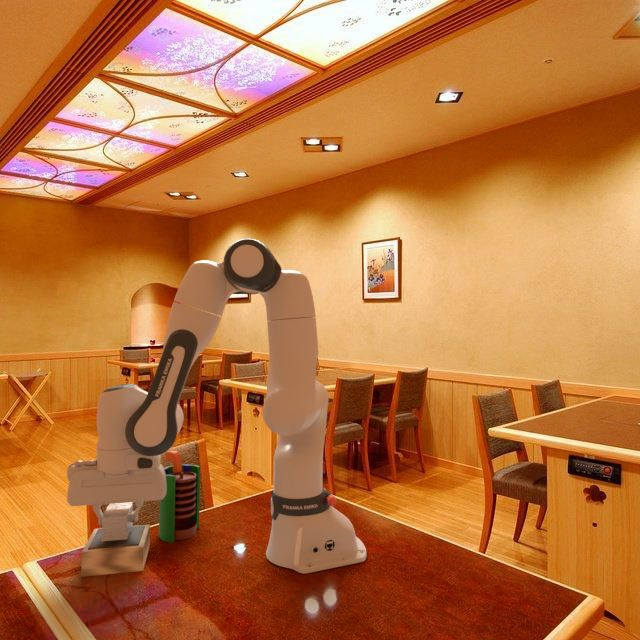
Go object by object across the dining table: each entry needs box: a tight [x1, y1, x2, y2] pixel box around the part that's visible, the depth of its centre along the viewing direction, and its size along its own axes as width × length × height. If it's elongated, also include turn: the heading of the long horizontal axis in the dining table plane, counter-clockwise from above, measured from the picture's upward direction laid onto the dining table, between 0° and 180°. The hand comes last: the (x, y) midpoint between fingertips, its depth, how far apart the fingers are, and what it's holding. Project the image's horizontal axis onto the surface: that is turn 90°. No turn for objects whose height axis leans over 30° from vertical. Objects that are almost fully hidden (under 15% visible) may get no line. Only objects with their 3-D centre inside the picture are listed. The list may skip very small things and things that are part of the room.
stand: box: [80, 524, 151, 578], centre depth 111 cm, size 12×12×5 cm
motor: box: [158, 450, 201, 543], centre depth 125 cm, size 10×9×20 cm
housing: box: [101, 502, 134, 541], centre depth 111 cm, size 9×5×5 cm, turn 12°
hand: (118, 522), depth 111 cm, fingers closed on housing, 5 cm apart
